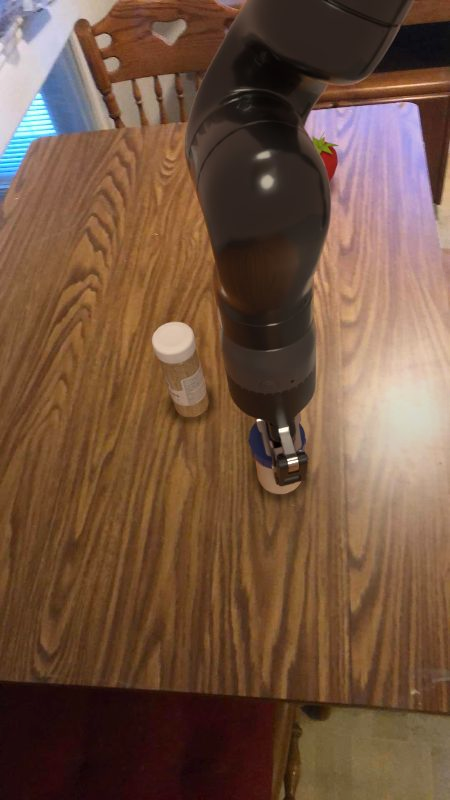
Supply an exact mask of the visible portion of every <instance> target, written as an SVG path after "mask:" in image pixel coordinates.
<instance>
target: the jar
mask: <svg viewBox="0 0 450 800" xmlns="http://www.w3.org/2000/svg"><path fill="white" fill-rule="evenodd" d="M254 462H255V468H256V474H257V479H258V482H259V484H260V486H262V488H263V489H265V490H266V491H268V492H269V493H271V494H276V495H284V494H288V493H291V492H293V491H294V490H296V489H297V488H298V487H299V485H300V484H301V482H302V481H300V482H296V483H294V484H290V485H286V486H282V487H281V486H279V485H277V484H276V482H275V478H274V470H272V469H270V468H266V467H263V466H262V465H261V464H259V463H258V462H257V461H256V460H255V459H254Z"/></svg>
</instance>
